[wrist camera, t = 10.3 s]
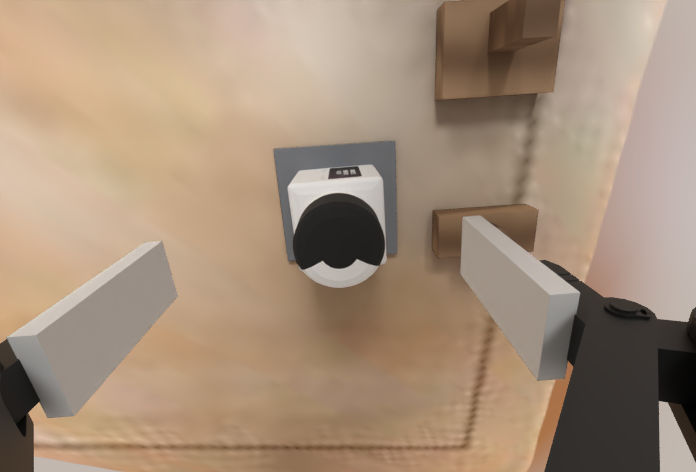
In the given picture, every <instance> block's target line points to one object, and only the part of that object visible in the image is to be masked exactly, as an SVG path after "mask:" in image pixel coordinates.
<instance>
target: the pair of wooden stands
mask: <svg viewBox="0 0 696 472" xmlns="http://www.w3.org/2000/svg"><path fill="white" fill-rule="evenodd" d="M564 4H565V0H462V1H447V2H444V3H443V4H442V5H441V6H440V8H439V9H438V10H437V31H436V80H435V100H447V99H462V98H477V97H492V96H507V95H522V94H537V93H547V92H553V91H554V83H555V75H556V67H557V59H558V51H559V43H560V36H561V28H562V20H563V12H564ZM479 215H480V216H482V217H483V218H484V219H486V220H487V221H488V222H490V223H491V224H492V225H493V226H495V227H496V228H497V229H499V230H500V231H501V232H502V233H504V234H505V235H506V236H508V237H509V238H510V239H512V240H513V241H514V242H515V243H517V244H518V245H519V246H521V247H522V248H523V249H525V250H526V251H527V252H533V249H534V241H535V233H536V225H537V217H538V210H537V209H535V208H533V207H531V206H529V205H527V204H518V205H503V206H488V207H473V208H459V209H444V210H433V227H432V250H433V251H434V253H435V254H436V256H437V257H438V258H445V257H460V256H461V245H462V220H463V217H467V216H479Z"/></svg>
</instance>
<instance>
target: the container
mask: <svg viewBox="0 0 696 472" xmlns="http://www.w3.org/2000/svg"><path fill="white" fill-rule="evenodd" d="M288 196H289V203H290V210H291V217H292V224H293V232H294V237H293V252H294V256H295V259H296V262H297V264H298V267H299V269H300V270H301V271H303V272H304V273H305V274H306V275H307V276H308V277H309V278H310V279H312V280H313V281H315V282H317V283H319V284H321V285H324V286H328V287H334V288H345V287H350V286H354V285H357V284H359V283H361V282H363V281H365V280H366V279H368V278H369V277H370V276H371V275H372V274H373V273H374V272H375V271H376V270H377V268H378V267H379V265H383V264H385V263H386V260H387V255H386V233H385V212H384V190H383V179H382V177H381V176H380V174H379V173H378V171H377V170H376V168H375V167H374V166H373V165H358V166H346V167H334V168H322V169H311V170H300V171H298V173H297V174H296V176H295V177H294V178H293V180H292V181H291V183H290V184H289V185H288Z"/></svg>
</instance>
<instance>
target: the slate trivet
mask: <svg viewBox="0 0 696 472" xmlns="http://www.w3.org/2000/svg"><path fill="white" fill-rule="evenodd" d="M274 157H275V164H276V172H277V180H278V187H279V195H280V202H281V210H282V218H283V225H284V233H285V240H286V248H287V256H288V261H296V259H295V256H294V252H293V237H294V232H293V224H292V217H291V210H290V203H289V196H288V185H289V184H290V183H291V181H292V180H293V178H294V177H295V176H296V174H297V173H298V171H300V170H311V169H322V168H334V167H346V166H358V165H373V166H374V167H375V168H376V170H377V171H378V173H379V174H380V176H381V177H382V179H383V190H384V212H385V233H386V254H397V212H396V149H395V141H379V142H364V143H350V144H335V145H320V146H305V147H290V148H275V149H274Z"/></svg>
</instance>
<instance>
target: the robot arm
mask: <svg viewBox="0 0 696 472" xmlns="http://www.w3.org/2000/svg"><path fill="white" fill-rule="evenodd" d="M460 274H461V275H462V277H463V278H464V280H465V281H466V282H467V284H468V285H469V287H470V288H471V289H472V291H473V292H474V293H475V295H476V296H477V298H478V299H479V300H480V302H481V303H482V305H483V306H484V307H485V309H486V310H487V311H488V313H489V314H490V316H491V317H492V318H493V320H494V321H495V323H496V324H497V325H498V327H499V328H500V330H501V331H502V332H503V334H504V335H505V336H506V338H507V339H508V341H509V342H510V343H511V345H512V346H513V348H514V349H515V350H516V352H517V353H518V354H519V356H520V357H521V359H522V360H523V361H524V363H525V364H526V366H527V367H528V368H529V370H530V371H531V373H532V374H533V375H534V377H535V378H536V379H537V381H540V380H553V379H565V374H566V369H567V363H568V361H569V362H570V363H571V364H572V365H573V371H572V375H571V378H570V382H569V385H568V389H567V392H566V396H565V400H564V403H563V407H562V410H561V414H560V418H559V421H558V425H557V428H556V432H555V436H554V439H553V443H552V446H551V450H550V454H549V457H548V461H547V464H546V468H545V472H660V460H659V459H660V457H659V456H660V455H659V401H663V402H668V404H669V406H670V408H671V410H672V412H673V414H674V417H675V419H676V421H677V423H678V425H679V427H680V429H681V431H682V434H683V436H684V438H685V440H686V442H687V445H688V446H689V449H690V451H691V453H692V455H693V457H694V460H695V462H696V308H694V309H693V310H692V312H691V315H690V318H689V321H688V322H681V321H670V320H661V319H657V318H656V316H655V314H654V313H653V312H652V311H651V310H649V309H648V308H646V307H644V306H642V305H640V304H638V303H635V302H632V301H628V300H625V299H619V298H611V297H610V298H604V297H602V296H601V295H600V294H598V293H597V292H595V291H594V290H593V289H591V288H590V287H589V286H587V285H586V284H584V283H583V282H582V281H579V279H577V278H576V277H575V276H573V275H571V274H570V273H569V272H568V271H566V270H565V269H564V268H562V267H561V266H559V265H556V264H554V263H551V262H549V261H546V260H541V261H539V260H537V259H536V258H535V257H534V256H532V255H531V254H530V253H528V252H527V251H526V250H525V249H523V248H522V247H521V246H519V245H518V244H517V243H515V242H514V241H513V240H512V239H510V238H509V237H508V236H506V235H505V234H504V233H502V232H501V231H500V230H499V229H497V228H496V227H495V226H493V225H492V224H491V223H490V222H488V221H487V220H486V219H484V218H483V217H482V216H480V215H479V216H467V217H463V220H462V245H461V269H460ZM177 297H178V295H177V291H176V288H175V284H174V281H173V277H172V274H171V270H170V267H169V263H168V260H167V256H166V253H165V249H164V246H163V242H162V241H155V242H144V243H143V244H142V245H140V246H139V247H137V248H136V249H134V250H133V251H131V252H130V253H128V254H127V255H126V256H124V257H123V258H121V259H120V260H118V261H117V262H115V263H114V264H112V265H111V266H110V267H108V268H107V269H105V270H104V271H102V272H101V273H99V274H98V275H96V276H95V277H94V278H92V279H91V280H89V281H88V282H86V283H85V284H83V285H82V286H80V287H79V288H78V289H76V290H75V291H73V292H72V293H70V294H69V295H67V296H66V297H65V298H63V299H62V300H60V301H59V302H57V303H56V304H54V305H53V306H51V307H50V308H49V309H47V310H46V311H44V312H43V313H41V314H40V315H38V316H37V317H35V318H34V319H33V320H31V321H30V322H28V323H27V324H25V325H24V326H22V327H21V328H19V329H18V330H17V331H15V332H14V333H12V334H11V335H9V336H8V337H6V338H7V339H6V340H5V341H3V342H2V343H1V344H0V472H34V466H33V465H34V428H33V421H32V420H31V418H30V416H29V414H28V412H29V411H30V410H31V409H32V408H33V407H34V406H35V405H36V404H37V403H38V402H40V404H41V406H42V408H43V410H44V412H45V414H46V416H47V418H55V417H68V416H75V415H76V414H77V412H78V411H79V410H80V409H81V408H82V407H83V405H84V404H85V403H86V402H87V401H88V400H89V399H90V397H91V396H92V395H93V394H94V393H95V392H96V390H97V389H98V388H99V387H100V386H101V385H102V383H103V382H104V381H105V380H106V379H107V378H108V377H109V375H110V374H111V373H112V372H113V371H114V370H115V368H116V367H117V366H118V365H119V364H120V363H121V361H122V360H123V359H124V358H125V357H126V356H127V354H128V353H129V352H130V351H131V350H132V349H133V348H134V346H135V345H136V344H137V343H138V342H139V341H140V339H141V338H142V337H143V336H144V335H145V334H146V332H147V331H148V330H149V329H150V328H151V327H152V326H153V324H154V323H155V322H156V321H157V320H158V319H159V317H160V316H161V315H162V314H163V313H164V312H165V310H166V309H167V308H168V307H169V306H170V305H171V303H172V302H173V301H174V300H175V299H176V298H177Z"/></svg>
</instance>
